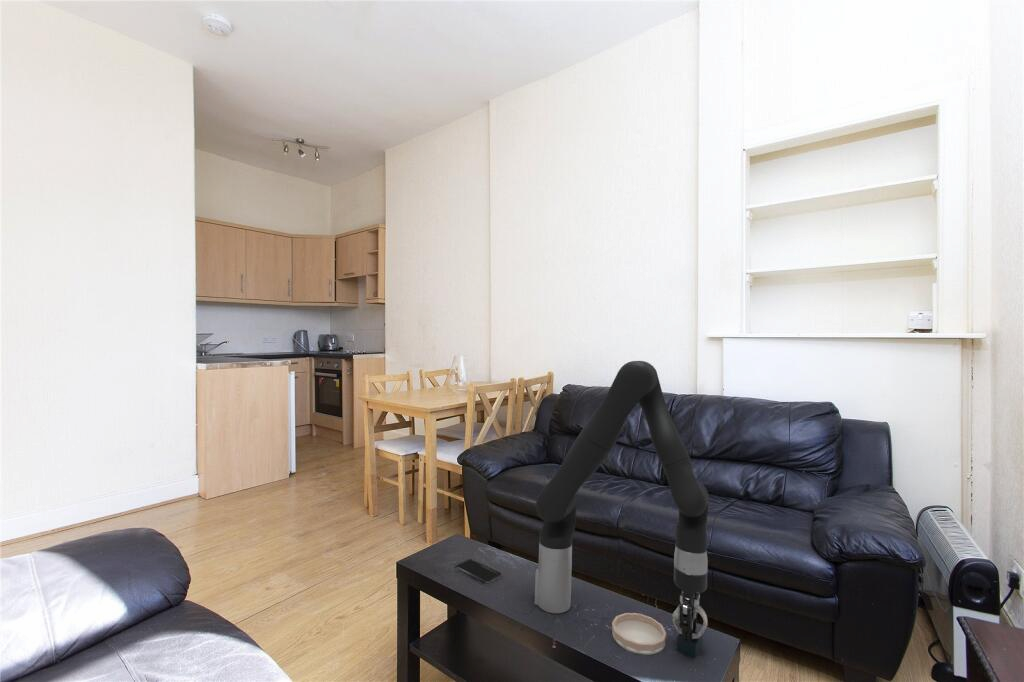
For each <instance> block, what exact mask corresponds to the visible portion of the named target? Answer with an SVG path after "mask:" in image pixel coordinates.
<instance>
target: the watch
mask: <svg viewBox="0 0 1024 682" xmlns="http://www.w3.org/2000/svg"><path fill="white" fill-rule="evenodd" d="M680 604H681V602H680V603H679V605H680ZM679 605H678V606H677V607H676V609H675V610H674V612H673V613H672V614H671V617H673V618H672V623H673V625H674V628H675V629H676V631H677V632H678V633H679V634H678V635H677V637H676V652H678V653H681V654H683V655H685V656H688V657H689V658H692V659H694V658H696V659H697V657H698V655H699V653H698V652H700V651H701V650H702V647H703V645H702V644H703V634H704V633H705V631H706V630H707V627H708V625H709V623H708V621H709V620H708V616H707V614H706V611H705V610H704V609H703V608H702V606H701V605H700V604H699V605H698V606H697V607H696V610H697V611H698V614H699V615H700V616H701V618H702V620H703V623H702V626H701V629H699V630H698V631H693V630H692V644H691V645H687V644H684V643H683V642H682V629H681V628H680V626H679V624H680V620H679V619H680V607H679ZM701 646H702V647H701ZM699 650H700V651H699ZM696 656H697V657H696Z"/></svg>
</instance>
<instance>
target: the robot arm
mask: <svg viewBox="0 0 1024 682" xmlns="http://www.w3.org/2000/svg"><path fill="white" fill-rule="evenodd" d="M666 403H667V402H666V400H665V397H664V394H663V389H662V387H661V383H660V380H659V376H658V371H657V369H656V368H655V367H654V366H653V365H652V364H651V363H649V362H647V361H644V360H632V361H628V362H626V363H624V364H623V365H622V366H621V367H620V368H619V369H618V371H617V373H616V375H615V377H614V380H613V382H612V384H611V385H610V388H609V389H608V391H607V393H606V395H605V397H604V399H603V400H602V402H601V404H600V405H599V406H598V407H597V408H596V410H595V411H594V413H593V414H592V415H591V416H590V418H589V419H588V421H587V422H586V423H585V425H584V426H583V428H582V430H581V432H579V434H578V435H577V437H576V439H575V441H574V442H573V444H572V446H571V448H570V449H569V450H568V452H567V454H566V456H565V457H564V460H562V463H561V464H560V466H559V468H558V469H557V471H556V473H554V475H553V476H552V478H551V479H550V480H549V482H548V483H547V484H546V485H545V486H544V488H542V489H541V491H540V492H539V494H538V495H537V497H536V502H535V509H536V513H537V515H538V517H539V518H540V519H541V520H542V521H543V524H542V527H541V529H540V531H539V534H538V535H539V539H538V540H539V541H538V542H539V543H538V546H539V547H538V567H537V568H536V569H535V576H534V578H535V579H534V580H535V583H534V605H536V606H538V607H539V609H541V610H542V611H544V612H546V613H550V614H563V613H565V612H568V611H569V610H570V608H571V606H572V604H571V602H572V601H571V600H572V597H571V596H572V594H571V593H572V567H573V566H572V564H573V563H572V562H573V561H572V559H573V557H572V556H573V537H574V535H575V530H576V520H577V519H576V518H577V517H576V516H577V498H576V494H577V492H578V491H579V490H580V488H581V487H582V486H583V485H584V484H585V482H586V481H587V480H589V478H590V477H591V476H593V474H594V473H595V472H596V471H597V470H598V469H599V467H601V465H602V464H603V463H604V462H605V460H606V459H607V457H608V456H609V454H610V453H612V450H613V449H614V447H615V445H616V443H617V441H618V440H619V437H620V434H621V432H622V430H623V427H624V425H625V422H626V420H627V419H628V417H629V415H630V414H631V412H632V411H633V410H634V408H635V407H636V406H637V405H639V406H640V408H641V410H642V413H643V415H644V417H645V420H646V423H647V427H648V431H649V435H650V439H651V443H652V446H653V448H654V451H655V454H656V456H657V458H658V460H659V463H660V465H661V467H662V469H663V471H664V473H665V475H666V480H667V484H668V486H669V487H668V488H669V490H670V494H671V498H672V500H673V503H674V504H675V506H676V507H677V509H678V521H677V523H676V527H675V547H674V548H675V549H674V553H673V559H674V560H673V582H674V585H676V587H677V588H679V589H680V590H681V593H680V595H679V601H680V603H681V604H680V603H679V605H678V606H679V607H680V617H679V623H680V624H679V626H680V628H681V629H682V642H683V643H684V644H687V645H691V644H692V630H693V631H696V630H697V616H698V614H699V612H698V611H697V610H696V607H697V606H698V605H699V606H700V598H701V595H700V593H704V592H706V590H707V589H708V564H709V563H708V552H707V550H708V549H707V547H708V546H707V544H708V542H707V541H708V534H707V521H708V516H709V515H708V514H709V513H708V511H709V502H710V500H709V499H710V498H709V497H710V496H709V493H708V490H707V488H706V487H705V485H704V484H702V482H700V481H697V478H696V475H695V473H694V470H693V463H692V460H691V457H690V455H689V453H688V451H687V449H686V446H685V444H684V442H683V439H682V437H681V436H680V434H679V430H677V427H676V425H675V423H674V420H673V418H672V416H671V413H670V410H669V408H668V406H667V404H666ZM696 632H697V631H696Z"/></svg>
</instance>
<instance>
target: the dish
mask: <svg viewBox="0 0 1024 682" xmlns="http://www.w3.org/2000/svg"><path fill="white" fill-rule="evenodd" d="M611 631H612V633H611V634H612V639H613V640H614V641H615V642H616V643H617V644H618V645H619V646H620V647H621V648H623V649H624V650H626V651H629V652H631V653H634V654H638V655H647V656H648V655H656V654H659V653H661V652H662V651H663V650H664V649H665V647H666V641H667V632H666V630H665V627H664V626H663V624H662V623H660V622H659V621H657V620H656V619H654V618H653V617H650V616H648V615H645V614H642V613H639V612H638V613H637V612H635V613H634V612H624V613H622V614H618V615H616V616H615V617H614V619H613V620H612V621H611Z"/></svg>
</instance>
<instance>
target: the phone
mask: <svg viewBox="0 0 1024 682" xmlns="http://www.w3.org/2000/svg"><path fill="white" fill-rule="evenodd" d="M455 569H457V570H459V571H461V572H463V573H465V574H466V575H468V576H470V577H472V578H474V579H476V580H478V581H480V582H481V583H483V584H489V583H491V582H492V583H494V582H496V581H498V580H499V579H498V578H500V577H502V578H503V574H502V572H500V571H498V570H496V569H494V568H492V567H489V566H488V565H486V564H484V563H481V562H480V561H477V560H475V559H473V558H469V559H466V560H464V561H461V562H460V563H457V564H455V565H454V570H455ZM457 570H456V571H457ZM459 571H458V572H459ZM461 572H460V573H461ZM463 573H462V574H463ZM466 575H465V576H466ZM468 576H467V577H468ZM470 577H469V578H470ZM472 578H471V579H472ZM474 579H473V580H474ZM497 579H498V580H497ZM500 579H501V578H500ZM476 580H475V581H476ZM495 580H496V581H495ZM478 581H477V582H478ZM493 581H494V582H493ZM480 582H479V583H480ZM481 583H480V584H481ZM492 583H491V584H492ZM483 584H482V585H483ZM489 585H490V584H489Z"/></svg>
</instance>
